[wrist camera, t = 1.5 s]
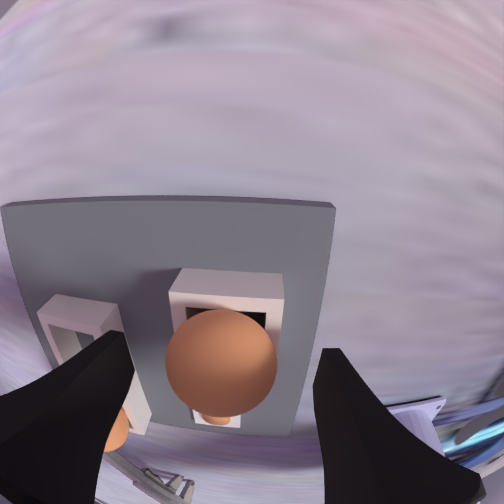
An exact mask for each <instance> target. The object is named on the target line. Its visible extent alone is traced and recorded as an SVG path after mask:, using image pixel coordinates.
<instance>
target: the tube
mask: <svg viewBox="0 0 504 504" xmlns="http://www.w3.org/2000/svg"><path fill="white" fill-rule="evenodd" d="M168 292H169V300H170V308H171V315H172V322H173V329H174V333H175V332H176V330H177V329H178V328H179V327H180V326H181V325H182V324H183V323H184V322H185V321H187V320H188V319H189V318H191V317H193V316H195V315H197V314H199V308H205V309H218V310H232V311H247V312H265V316H264V330H265V331H266V332H267V334H268V335H269V337H270V339H271V340H272V342H273V345H274V348H275V351H276V355H277V357H278V350H279V342H280V334H281V325H282V317H283V308H284V289H283V279H282V274H279V273H259V272H241V271H224V270H208V269H192V268H182V270H181V271H180V273H179V275H178V276H177V278H176V280H175V281H174V283H173V285H172V286H171V288H170V290H169V291H168Z"/></svg>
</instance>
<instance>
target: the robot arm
mask: <svg viewBox="0 0 504 504" xmlns="http://www.w3.org/2000/svg"><path fill="white" fill-rule="evenodd" d="M134 372H135V367H134V364H133V361H132V358H131V355H130V351H129V348H128V345H127V341H126V338H125V334H124V332H121V331H115V330H109V331H108V332H106V333H105V334H103V335H102V336H100V337H99V338H97V339H96V340H95V341H93V342H92V343H91V344H89V345H88V346H87V347H85V348H84V349H82V350H81V351H80V352H78V353H77V354H76V355H74V356H73V357H71V358H70V359H69V360H67V361H66V362H64V363H63V364H61V365H60V366H58V367H57V368H55V369H54V370H52V371H51V372H49V373H47V374H46V375H44V376H42V377H41V378H39V379H37V380H35V381H33V382H31V383H30V384H28V385H26V386H23V387H21V388H19V389H16V390H14V391H12V392H9V393H7V394H4V395H1V396H0V504H94V500H95V492H96V485H97V478H98V474H99V469H100V464H101V460H102V456H103V453H104V449H105V445H106V442H107V440H108V437H109V434H110V432H111V430H112V427H113V425H114V423H115V421H116V419H117V416H118V414H119V412H120V410H121V408H122V405H123V403H124V401H125V399H126V396H127V394H128V392H129V389H130V386H131V383H132V379H133V376H134ZM313 400H314V412H315V418H316V423H317V429H318V435H319V440H320V446H321V452H322V457H323V465H324V485H325V504H480V501H481V500H482V499H483V498H485V496H486V491H485V488H484V485H483V482H482V479H481V477H480V474H479V473H476V472H474V471H472V470H470V469H467V468H465V467H463V466H461V465H459V464H457V463H455V462H453V461H451V460H450V459H448V458H446V457H445V455H444V452H443V449H442V447H441V444H440V441H439V439H438V436H437V434H436V431H435V429H434V426H433V424H432V420H433V418H434V417H435V416H436V414H437V413H438V412H439V410H440V409H441V408H442V406H443V405H444V404H445V402H446V398H445V397H439V398H435V399H430V400H425V401H420V402H415V403H410V404H404V405H398V406H392V407H385V406H384V405H383V404H382V403H381V402H380V400H379V399H378V398H377V397H376V396H375V395H374V393H373V392H372V391H371V390H370V388H369V387H368V386H367V385H366V383H365V382H364V381H363V379H362V378H361V377H360V375H359V374H358V373H357V371H356V370H355V369H354V367H353V366H352V365H351V363H350V362H349V360H348V359H347V358H346V356H345V355H344V353H343V352H342V351H341V349H340V348H323V349H322V353H321V357H320V361H319V365H318V369H317V372H316V376H315V379H314V383H313Z"/></svg>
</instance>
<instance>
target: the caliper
mask: <svg viewBox="0 0 504 504" xmlns="http://www.w3.org/2000/svg"><path fill="white" fill-rule="evenodd" d="M102 457H103V458H104V459H105V460H106V461H108V462H109V463H110V464H111V465H113V466H114V467H115V468H116V469H118V470H119V471H120V472H122V473H123V474H124V475H126V476H127V477H128V478H130V479H131V480H133V485H134V486H136V487H137V488H139V489H140V490H141V491H143V492H144V493H146V494H147V495H149V496H150V497H152V498H153V499H155V500H157V501H158V502H160V503H161V504H191V502H192V496H193V491H194V486H195V483H194V481H193V480H190V481H187V482H186V484H185V486H184V488H183V490H182V492H181V493H180V495H179V496H178V495H176V494H175V493H176V491H177V490H178V488H179V486H180V484H181V482H182V479H183V477H184V476H182V475H176V476H174V477H173V478H172V479H171V480H170V481H169V482H168V483H166V484H164V483H163V481H162V480H161V479H160V478H159V477H158V476H157V475H155V474H153V473H152V472H151V471H150V470H149V469H148V468H146V469H142V470H140V469H138V468H137V467H136V466H134V465H133V464H132V463H130V462H129V461H128V460H127V459H125V458H124V457H123V456H122V455H120V454H119V453H118V452H117V451H115V450H113V451H110V452H104V453H103V456H102Z"/></svg>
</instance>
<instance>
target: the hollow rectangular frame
mask: <svg viewBox="0 0 504 504" xmlns="http://www.w3.org/2000/svg"><path fill="white" fill-rule="evenodd" d="M37 315H38V317H39V320H40V323H41V325H42V328H43V330H44V333H45V335H46V337H47V340H48V342H49V344H50V346H51V349H52V351H53V353H54V355H55V357H56V359H57V361H58V363H59V365H61V364H63V363H64V362H66V361H67V360H69V359H70V358H71V357H73V356H74V355H76V354H77V353H78V352H80V351H81V350H82V348H81V345H80V343H79V340H78V338H77V335H76V332H75V331H77V332H81V333H86V334H90V335H93V337H94V340H96V339H97V338H99V337H100V336H102V335H103V334H105V333H106V332H108V331H109V330H115V331H121V332H124V328H123V324H122V320H121V316H120V312H119V308H118V304H114V303H108V302H101V301H95V300H89V299H83V298H77V297H71V296H65V295H60V294H55V295H54V296H53V297H52V298H51V299H50V300H49V301H48V302H47V303H46V304H45V305H44V306H43V307H41V308H40V309H39V310H38V311H37ZM124 334H125V332H124ZM125 338H126V335H125ZM126 341H127V339H126ZM127 345H128V342H127ZM128 348H129V346H128ZM129 351H130V349H129ZM130 355H131V353H130ZM131 358H132V356H131ZM132 361H133V359H132ZM133 364H134V362H133ZM134 367H135V366H134ZM122 408H123V409H124V411H125V413H126V415H127V418H128V421H129V432H133V433H136V434H140V435H145V432H146V429H147V426H148V423H149V421H150V418H151V415H152V413H151V410H150V408H149V405H148V403H147V400H146V397H145V395H144V392H143V389H142V386H141V383H140V381H139V378H138V375H137V372H136V369H135V372H134V376H133V379H132V383H131V386H130V389H129V392H128V394H127V396H126V399H125V401H124V403H123V405H122Z"/></svg>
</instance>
